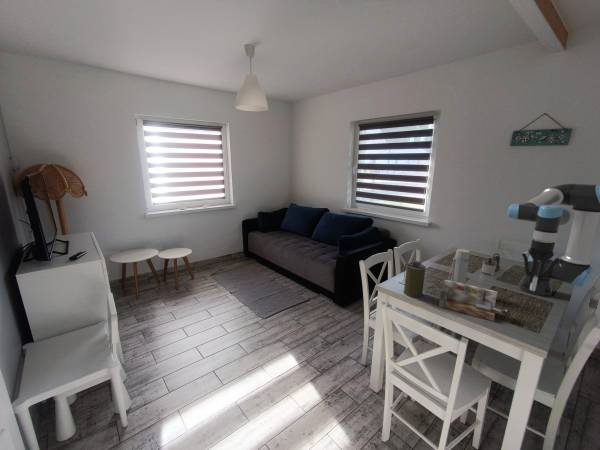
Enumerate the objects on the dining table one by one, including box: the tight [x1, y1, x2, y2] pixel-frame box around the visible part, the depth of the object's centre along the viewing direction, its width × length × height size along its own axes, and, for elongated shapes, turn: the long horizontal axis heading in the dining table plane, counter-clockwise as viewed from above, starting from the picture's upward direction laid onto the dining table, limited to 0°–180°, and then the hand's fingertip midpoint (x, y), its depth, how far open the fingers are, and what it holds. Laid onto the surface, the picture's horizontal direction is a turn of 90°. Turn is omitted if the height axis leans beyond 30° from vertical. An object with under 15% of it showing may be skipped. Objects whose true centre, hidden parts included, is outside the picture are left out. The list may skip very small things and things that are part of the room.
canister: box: [403, 259, 427, 299], centre depth 153 cm, size 11×10×20 cm
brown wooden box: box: [438, 279, 498, 322], centre depth 138 cm, size 24×10×12 cm, turn 55°
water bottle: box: [448, 248, 470, 284], centre depth 158 cm, size 9×8×25 cm
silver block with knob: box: [475, 292, 511, 318], centre depth 132 cm, size 14×6×9 cm, turn 55°
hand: (532, 289), depth 122 cm, fingers closed
